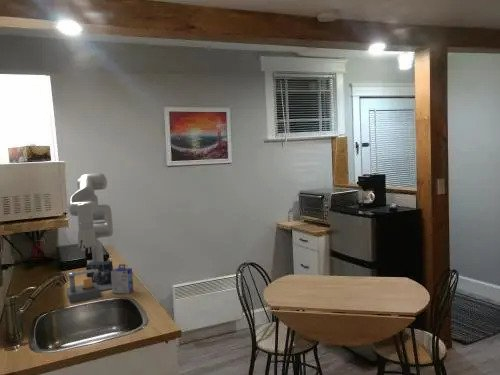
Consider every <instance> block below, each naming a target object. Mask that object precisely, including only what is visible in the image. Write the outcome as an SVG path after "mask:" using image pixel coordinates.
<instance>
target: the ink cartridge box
mask: <svg viewBox="0 0 500 375" xmlns="http://www.w3.org/2000/svg"><path fill="white" fill-rule="evenodd" d="M111 279H112V289H111V290H112V291H111V292H112V294H130V293H132V292H134V281H133V280H134V279H133V269H132V267H131V268H130V267H129V268H127V267H126V264H124V263H123V264H122V263H121V264H120V263H119V265H118V268H113V270H112V271H111Z"/></svg>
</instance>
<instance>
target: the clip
mask: <svg viewBox="0 0 500 375" xmlns="http://www.w3.org/2000/svg"><path fill="white" fill-rule="evenodd" d="M97 271H98V269H97V267H94V269H91V270H86V269H85V270H80V271H69V272H67V274H66V275H67V278H69V277H74V278H75V277H76V276H79V275H84V274H85V275H86V273H91V272H97Z"/></svg>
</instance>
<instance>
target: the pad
mask: <svg viewBox="0 0 500 375" xmlns="http://www.w3.org/2000/svg"><path fill="white" fill-rule="evenodd" d="M98 286H99V288H100V290H101V292H104V291H110V290H112V283H111V284H106V285H98Z"/></svg>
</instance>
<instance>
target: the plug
mask: <svg viewBox="0 0 500 375" xmlns="http://www.w3.org/2000/svg"><path fill="white" fill-rule="evenodd" d="M82 282H83V284H82V285H84V286H83V288H84V290H87V289H92V288H93V284H92V277H87V276H86V277H84V278H82Z"/></svg>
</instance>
